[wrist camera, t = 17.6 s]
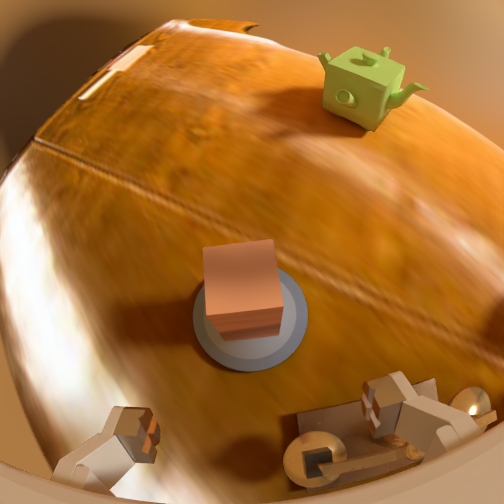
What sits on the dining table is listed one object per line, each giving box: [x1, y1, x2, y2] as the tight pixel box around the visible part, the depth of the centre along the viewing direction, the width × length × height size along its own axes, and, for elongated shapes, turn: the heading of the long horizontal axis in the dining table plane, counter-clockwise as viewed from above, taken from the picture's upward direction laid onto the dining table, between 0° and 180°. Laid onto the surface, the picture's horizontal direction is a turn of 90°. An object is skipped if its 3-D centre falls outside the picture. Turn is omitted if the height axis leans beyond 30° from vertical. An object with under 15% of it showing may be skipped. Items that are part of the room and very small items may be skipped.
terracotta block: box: [203, 239, 284, 342], centre depth 24 cm, size 5×5×9 cm
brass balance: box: [283, 378, 497, 493], centre depth 18 cm, size 8×18×11 cm, turn 97°
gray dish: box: [193, 268, 308, 372], centre depth 29 cm, size 11×11×1 cm
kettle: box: [317, 46, 429, 132], centre depth 38 cm, size 15×14×11 cm
